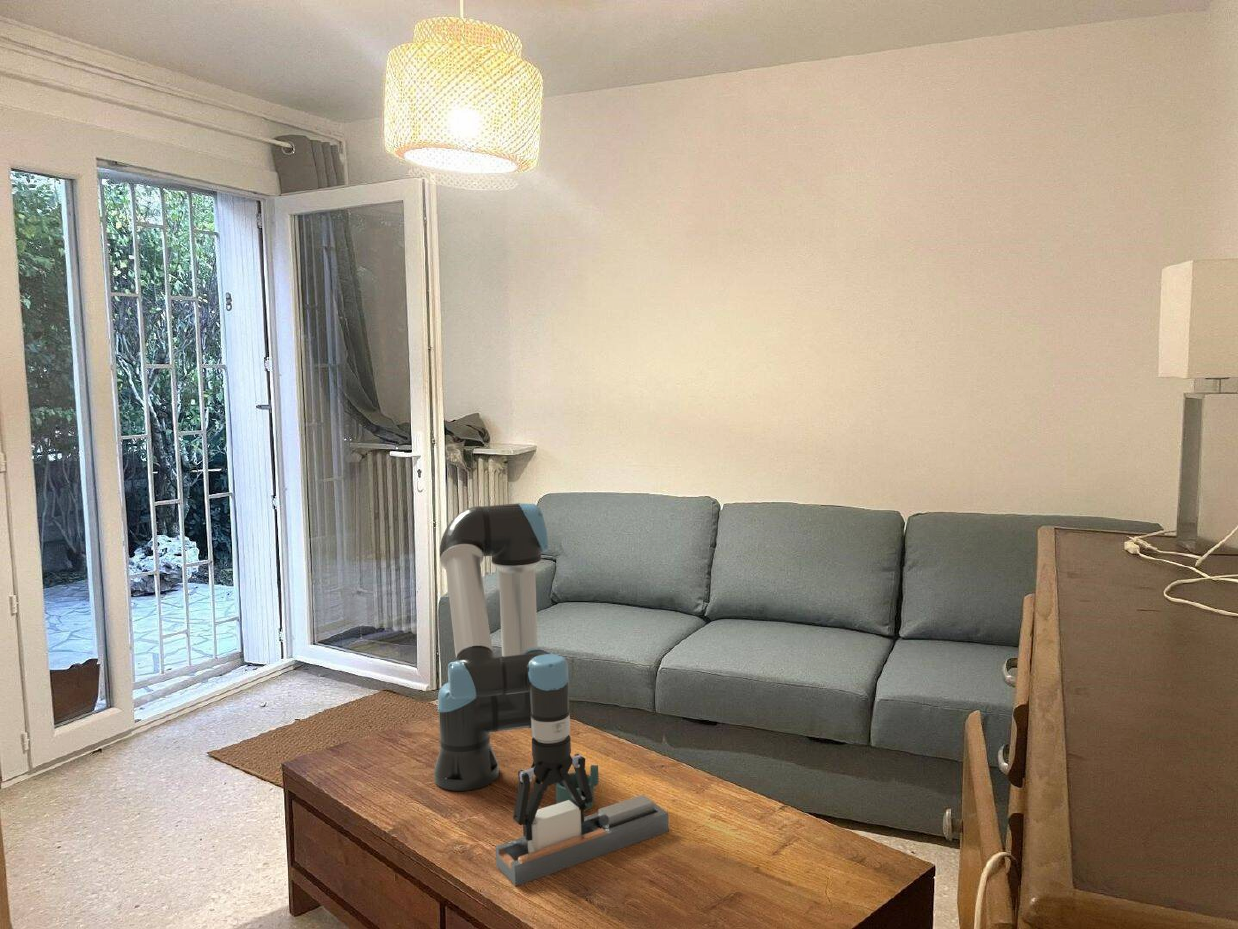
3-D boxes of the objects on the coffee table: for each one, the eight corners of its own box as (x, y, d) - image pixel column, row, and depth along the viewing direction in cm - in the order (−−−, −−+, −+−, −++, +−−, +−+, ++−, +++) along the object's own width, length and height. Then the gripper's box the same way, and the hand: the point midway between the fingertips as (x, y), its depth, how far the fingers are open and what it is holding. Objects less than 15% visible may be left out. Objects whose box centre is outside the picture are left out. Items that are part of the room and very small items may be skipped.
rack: (496, 866, 175) (495, 836, 174) (645, 814, 193) (645, 788, 192) (515, 886, 167) (514, 856, 167) (668, 831, 186) (668, 803, 185)
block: (530, 851, 176) (528, 812, 175) (570, 838, 181) (568, 800, 180) (539, 860, 172) (537, 821, 172) (580, 846, 177) (578, 807, 176)
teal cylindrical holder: (602, 805, 198) (601, 766, 197) (565, 816, 193) (563, 776, 192) (583, 790, 206) (581, 752, 205) (546, 800, 201) (545, 761, 200)
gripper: (508, 757, 165) (513, 873, 168) (608, 729, 177) (612, 838, 179) (491, 743, 171) (496, 855, 174) (589, 717, 183) (592, 822, 185)
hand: (555, 846), depth 176 cm, fingers closed on block, 9 cm apart
